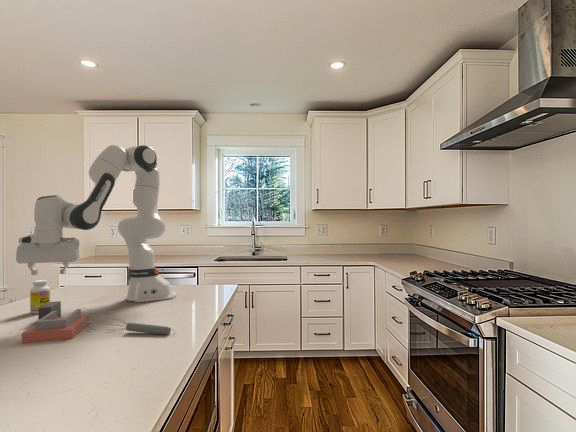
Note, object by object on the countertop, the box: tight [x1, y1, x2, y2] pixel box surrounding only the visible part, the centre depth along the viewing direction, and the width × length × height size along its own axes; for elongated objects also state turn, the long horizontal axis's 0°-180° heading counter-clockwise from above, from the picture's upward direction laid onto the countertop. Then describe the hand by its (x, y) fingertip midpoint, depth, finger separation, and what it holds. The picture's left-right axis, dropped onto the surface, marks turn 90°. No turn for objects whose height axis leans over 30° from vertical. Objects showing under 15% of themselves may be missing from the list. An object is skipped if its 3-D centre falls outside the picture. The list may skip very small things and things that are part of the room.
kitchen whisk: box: [81, 312, 176, 336], centre depth 115 cm, size 6×34×6 cm, turn 81°
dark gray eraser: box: [37, 300, 62, 321], centre depth 130 cm, size 4×9×6 cm, turn 13°
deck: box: [21, 308, 90, 344], centre depth 116 cm, size 14×16×6 cm
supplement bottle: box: [29, 279, 51, 315], centre depth 142 cm, size 7×7×13 cm
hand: (48, 274), depth 130 cm, fingers open, 8 cm apart
